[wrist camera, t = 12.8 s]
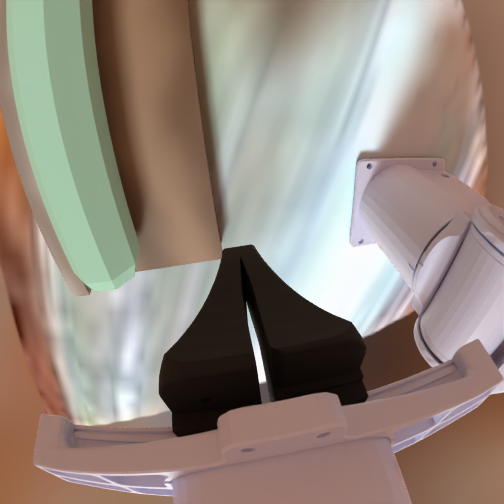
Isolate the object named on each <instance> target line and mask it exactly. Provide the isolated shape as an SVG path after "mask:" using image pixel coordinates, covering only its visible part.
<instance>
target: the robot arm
mask: <svg viewBox="0 0 504 504" xmlns="http://www.w3.org/2000/svg"><path fill="white" fill-rule="evenodd" d="M369 163H370V166H369V167H368V168H367V165H368V164H369ZM433 163H434V165H433ZM445 167H446V161H445V160H444V159H443V158H378V159H361V160H359V161H358V162H357V165H356V179H355V192H354V203H353V214H352V223H351V232H350V244H351V245H352V246H353V247H356V246H362V245H368V244H374V243H376V244H377V245H378V246H379V247H380V249H381V250H382V251H383V252H384V254H385V255H386V256H387V257H388V259H389V260H390V261H391V263H392V264H393V265H394V267H395V268H396V269H397V271H398V272H399V273H400V275H401V276H402V277H403V279H404V280H405V281H406V283H407V284H408V285H409V287H410V288H411V290H412V291H413V292H414V299H413V301H412V304H411V305H412V306H413V308H414V309H415V311H416V312H417V313H418V315H419V317H418V319H417V320H416V323H415V326H414V338H415V341H416V344H417V347H418V349H419V351H420V352H421V354H422V355H423V357H424V359H425V360H426V361H427V362H428V363H429V364H430V365H431V366H432V367H433V368H430V369H428V370H426V371H423V372H421V373H419V374H416V375H413V376H411V377H408V378H406V379H403V380H400V381H398V382H395V383H392V384H389V385H386V386H383V387H381V388H378V389H375V390H372V391H369V392H367V391H366V388H365V386H364V384H363V381H362V379H363V374H362V371H361V369H360V367H361V364H362V362H363V359H364V356H365V353H366V346H365V343H364V341H363V339H362V337H361V335H360V334H359V332H358V331H357V329H356V328H355V326H354V325H353V324H352V322H350V321H347V320H345V319H342V318H340V317H338V316H335V315H333V314H331V313H329V312H327V311H325V310H323V309H321V308H319V307H318V306H316V305H314V304H313V303H311V302H309V301H308V300H306V299H305V298H303V297H302V296H301V295H299V294H298V293H297V292H295V291H294V290H293V289H292V288H291V287H289V286H288V285H287V284H286V283H285V282H284V281H283V280H282V279H281V278H280V277H279V276H278V275H277V274H276V273H275V272H274V271H273V270H272V269H271V268H270V267H269V266H268V264H267V263H266V262H265V261H264V260H263V258H262V257H261V256H260V254H259V253H258V251H257V250H256V248H255V246H253V245H245V246H239V247H232V248H226V249H224V250H223V251H222V258H221V263H220V266H219V270H218V273H217V276H216V279H215V281H214V284H213V286H212V288H211V291H210V293H209V295H208V297H207V299H206V301H205V303H204V305H203V307H202V308H201V310H200V312H199V313H198V315H197V316H196V318H195V319H194V321H193V322H192V324H191V325H190V326H189V328H188V329H187V330H186V331H185V333H184V334H183V335H182V336H181V338H180V339H179V340H178V341H177V342H176V343H175V344H174V345H173V346H172V347H171V348H170V349H169V350H168V351H167V352H166V353H165V354H164V357H163V360H162V364H161V369H160V374H159V395H160V397H161V398H162V400H163V401H164V402H165V404H166V405H167V406H168V408H169V409H170V410H171V412H172V427H160V428H118V427H96V426H83V425H74V424H73V423H72V422H71V421H70V420H69V419H67V418H65V417H63V416H59V415H50V414H41V415H40V420H39V426H38V431H37V437H36V444H35V450H34V457H33V464H34V465H35V466H37V467H39V468H41V469H43V470H45V471H47V472H49V473H51V474H53V475H55V476H57V477H60V478H62V479H64V480H66V481H69V482H74V483H78V484H83V485H89V486H94V487H100V488H106V489H111V490H117V491H125V492H131V493H140V494H150V495H162V496H173V499H174V500H173V501H174V504H412V503H411V500H410V497H409V494H408V491H407V488H406V485H405V482H404V480H403V477H402V474H401V471H400V468H399V465H398V463H397V460H396V457H395V455H394V453H395V452H398V451H400V450H402V449H404V448H406V447H408V446H410V445H412V444H414V443H416V442H418V441H420V440H422V439H424V438H425V437H427V436H429V435H431V434H433V433H435V432H436V431H438V430H440V429H442V428H443V427H445V426H447V425H448V424H450V423H452V422H453V421H455V420H457V419H458V418H460V417H462V416H463V415H465V414H467V413H468V412H470V411H472V410H473V409H475V408H476V407H478V406H479V405H480V404H481V403H482V402H483V401H484V400H485V399H486V398H487V397H488V396H489V395H490V394H495V393H501V392H504V209H502V208H500V207H497V206H494V205H491V204H490V203H489V202H488V201H487V200H486V199H485V198H484V197H483V196H482V195H480V194H479V193H478V192H476V191H475V190H473V189H472V188H471V187H469V186H468V185H466V184H465V183H463V182H462V181H460V180H459V179H457V178H456V177H454V176H453V175H451V174H450V173H448V172H447V171H445ZM360 239H361V241H359V240H360ZM246 302H247V305H248V308H249V312H250V315H251V318H252V322H253V325H254V328H255V332H256V335H257V338H258V342H259V346H260V350H261V355H262V360H263V366H264V371H265V376H266V381H267V386H268V391H269V397H270V402H271V403H265V404H262V402H261V395H260V388H259V381H258V373H257V366H256V361H255V356H254V351H253V346H252V342H251V337H250V332H249V327H248V319H247V305H246Z"/></svg>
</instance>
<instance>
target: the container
mask: <svg viewBox="0 0 504 504" xmlns="http://www.w3.org/2000/svg"><path fill="white" fill-rule="evenodd" d="M6 25H7V43H8V55H9V64H10V72H11V80H12V86H13V92H14V98H15V103H16V108H17V113H18V118H19V122H20V127H21V131H22V135H23V139H24V143H25V146H26V150H27V154H28V157H29V161H30V164H31V167H32V170H33V174H34V177H35V180H36V183H37V186H38V189H39V191H40V194H41V197H42V200H43V203H44V205H45V208H46V211H47V213H48V216H49V218H50V221H51V223H52V226H53V228H54V230H55V233H56V235H57V237H58V240H59V242H60V244H61V247H62V249H63V251H64V253H65V255H66V257H67V260H68V262H69V264H70V266H71V268H72V270H73V272H74V273H75V274H76V275H77V276H78V277H79V279H80V280H81V281H82V282H83V283H84V284H85V285H87V286H88V287H90V288H91V289H93V290H94V291H95V292H97V291H106V290H114V289H117V288H119V287H120V286H121V285H123V284H124V283H125V282H127V281H128V280H130V279H131V278H132V277H134V275H135V271H136V267H137V263H138V256H139V249H140V245H139V241H138V238H137V235H136V232H135V229H134V225H133V222H132V219H131V215H130V212H129V209H128V205H127V201H126V198H125V194H124V191H123V187H122V183H121V179H120V175H119V171H118V167H117V163H116V159H115V155H114V150H113V146H112V141H111V137H110V132H109V127H108V122H107V117H106V112H105V107H104V101H103V95H102V89H101V83H100V76H99V69H98V62H97V54H96V45H95V35H94V24H93V10H92V0H6Z"/></svg>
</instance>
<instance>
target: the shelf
mask: <svg viewBox="0 0 504 504" xmlns="http://www.w3.org/2000/svg"><path fill="white" fill-rule="evenodd" d="M92 10H93V24H94V35H95V45H96V54H97V62H98V69H99V76H100V83H101V89H102V95H103V101H104V107H105V112H106V117H107V122H108V127H109V132H110V137H111V141H112V146H113V150H114V155H115V159H116V163H117V167H118V171H119V175H120V179H121V183H122V187H123V191H124V194H125V198H126V201H127V205H128V209H129V212H130V215H131V219H132V222H133V225H134V229H135V232H136V235H137V238H138V241H139V245H140V249H139V256H138V263H137V267H136V271H135V272H138V271H145V270H151V269H158V268H164V267H171V266H177V265H184V264H191V263H197V262H204V261H210V260H217V259H221V258H222V247H221V240H220V234H219V228H218V222H217V216H216V210H215V204H214V197H213V191H212V185H211V178H210V171H209V165H208V158H207V151H206V144H205V137H204V130H203V123H202V116H201V109H200V101H199V93H198V86H197V78H196V70H195V61H194V53H193V44H192V36H191V26H190V17H189V7H188V0H92ZM0 104H1V109H2V114H3V119H4V123H5V127H6V131H7V135H8V139H9V143H10V147H11V150H12V154H13V157H14V160H15V164H16V167H17V170H18V173H19V176H20V179H21V182H22V185H23V188H24V190H25V193H26V196H27V199H28V201H29V204H30V206H31V209H32V211H33V214H34V216H35V219H36V221H37V224H38V226H39V228H40V231H41V233H42V235H43V237H44V239H45V242H46V244H47V246H48V248H49V250H50V252H51V254H52V256H53V258H54V260H55V262H56V264H57V266H58V268H59V270H60V272H61V274H62V276H63V278H64V280H65V282H66V284H67V285H68V287H69V289H70V291H71V293H72V294H73V296H74V297H77V296H85V295H90V292H91V288H90V287H88V286H87V285H85V284H84V283H83V282H82V281H81V280H80V279H79V277H78V276H77V275H76V274H75V273H74V272H73V270H72V268H71V266H70V264H69V262H68V260H67V257H66V255H65V253H64V251H63V249H62V247H61V244H60V242H59V240H58V237H57V235H56V233H55V230H54V228H53V226H52V223H51V221H50V218H49V216H48V213H47V211H46V208H45V205H44V203H43V200H42V197H41V194H40V191H39V189H38V186H37V183H36V180H35V177H34V174H33V170H32V167H31V164H30V161H29V157H28V154H27V150H26V146H25V143H24V139H23V135H22V131H21V127H20V122H19V118H18V113H17V108H16V103H15V98H14V92H13V86H12V80H11V72H10V64H9V55H8V43H7V25H6V0H0Z"/></svg>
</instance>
